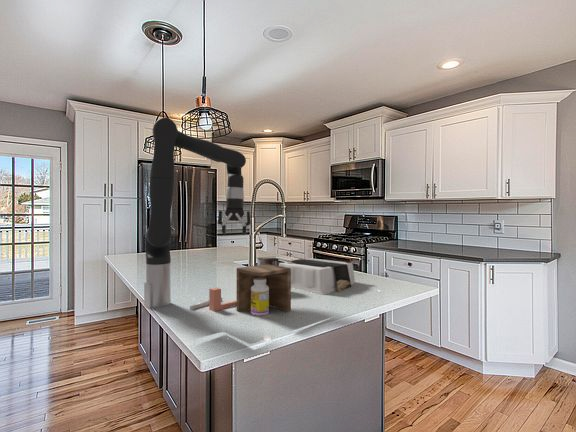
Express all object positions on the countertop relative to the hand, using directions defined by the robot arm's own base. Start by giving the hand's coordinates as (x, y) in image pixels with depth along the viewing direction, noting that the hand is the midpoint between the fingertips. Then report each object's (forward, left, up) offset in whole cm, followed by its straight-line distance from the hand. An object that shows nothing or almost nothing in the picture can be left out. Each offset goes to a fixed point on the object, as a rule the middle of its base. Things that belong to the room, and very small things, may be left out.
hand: (234, 234), depth 145 cm
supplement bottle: (-7, -28, -28) cm, 40 cm away
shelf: (-4, -26, -28) cm, 38 cm away
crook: (-17, -12, -28) cm, 35 cm away
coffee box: (+16, -4, -28) cm, 33 cm away
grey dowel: (-16, -4, -28) cm, 32 cm away
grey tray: (+43, -10, -28) cm, 52 cm away
